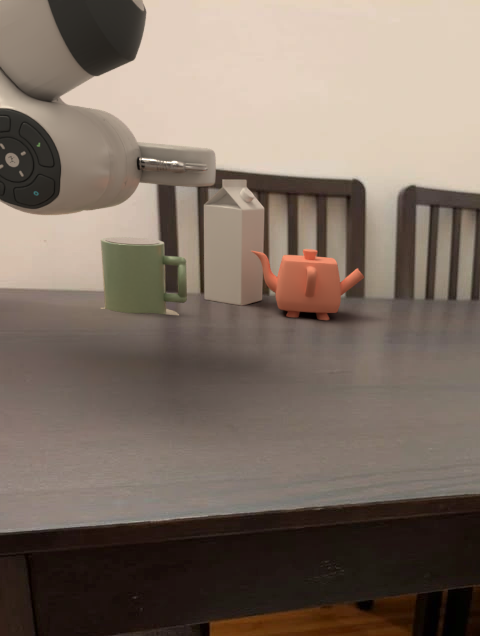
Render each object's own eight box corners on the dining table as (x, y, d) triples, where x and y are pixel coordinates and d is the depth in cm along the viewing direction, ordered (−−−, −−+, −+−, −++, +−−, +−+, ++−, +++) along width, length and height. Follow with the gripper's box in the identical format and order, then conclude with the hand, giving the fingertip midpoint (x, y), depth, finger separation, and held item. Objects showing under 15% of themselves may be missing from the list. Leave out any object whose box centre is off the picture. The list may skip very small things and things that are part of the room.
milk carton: (203, 300, 121) (203, 177, 113) (226, 295, 127) (227, 177, 119) (241, 307, 119) (242, 181, 111) (262, 301, 125) (265, 181, 117)
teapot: (315, 304, 126) (318, 243, 122) (364, 317, 119) (369, 253, 114) (249, 311, 116) (250, 245, 112) (298, 326, 109) (301, 256, 105)
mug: (79, 323, 99) (73, 241, 95) (107, 306, 110) (103, 232, 106) (177, 331, 99) (175, 250, 95) (196, 313, 110) (195, 240, 106)
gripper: (199, 132, 68) (230, 136, 81) (-18, 113, 68) (47, 120, 81) (199, 204, 71) (229, 197, 83) (-9, 185, 71) (52, 181, 84)
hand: (138, 159), depth 82 cm, fingers closed
